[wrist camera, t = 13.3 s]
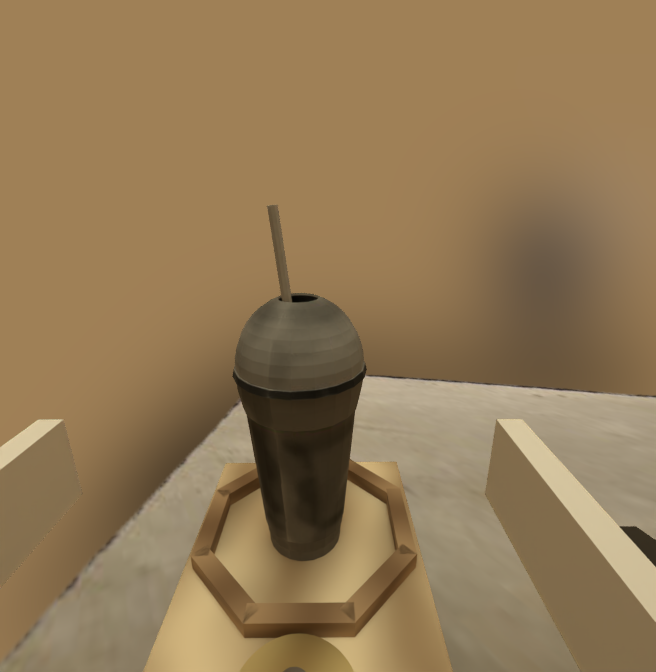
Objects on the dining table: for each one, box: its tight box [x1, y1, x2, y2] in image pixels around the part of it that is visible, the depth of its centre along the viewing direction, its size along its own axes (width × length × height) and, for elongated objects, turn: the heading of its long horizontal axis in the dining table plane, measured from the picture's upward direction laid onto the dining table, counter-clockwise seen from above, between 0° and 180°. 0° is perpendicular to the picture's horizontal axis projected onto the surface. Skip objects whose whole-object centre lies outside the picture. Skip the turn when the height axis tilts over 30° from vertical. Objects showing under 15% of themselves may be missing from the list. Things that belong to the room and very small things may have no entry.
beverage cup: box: [233, 205, 367, 561], centre depth 22 cm, size 7×7×20 cm
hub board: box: [143, 459, 453, 672], centre depth 22 cm, size 14×20×3 cm
